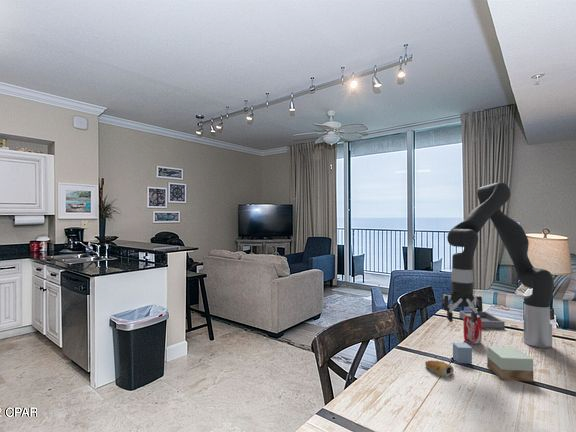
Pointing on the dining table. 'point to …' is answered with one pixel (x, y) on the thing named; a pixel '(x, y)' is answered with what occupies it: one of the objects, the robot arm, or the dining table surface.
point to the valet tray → (487, 320)
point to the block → (462, 352)
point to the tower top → (510, 358)
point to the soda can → (472, 329)
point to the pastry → (439, 368)
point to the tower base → (510, 373)
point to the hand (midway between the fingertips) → (461, 321)
